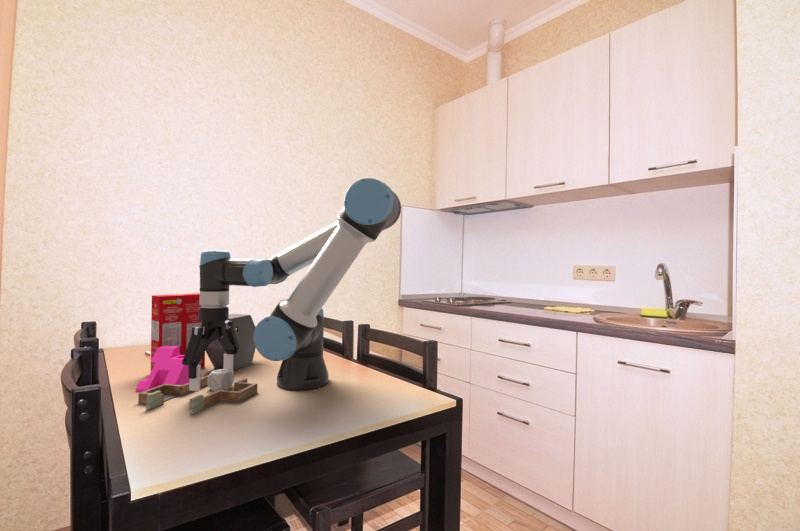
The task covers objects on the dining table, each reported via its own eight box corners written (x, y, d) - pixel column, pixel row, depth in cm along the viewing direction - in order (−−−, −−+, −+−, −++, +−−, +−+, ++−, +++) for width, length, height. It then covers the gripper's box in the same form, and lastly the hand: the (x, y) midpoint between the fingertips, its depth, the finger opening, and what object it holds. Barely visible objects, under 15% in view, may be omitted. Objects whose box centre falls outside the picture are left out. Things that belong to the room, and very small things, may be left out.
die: (221, 392, 112) (221, 374, 112) (206, 390, 113) (207, 372, 113) (234, 387, 116) (234, 369, 116) (220, 385, 118) (220, 368, 118)
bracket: (162, 379, 123) (162, 346, 123) (195, 380, 123) (196, 346, 123) (135, 392, 111) (136, 354, 111) (172, 393, 110) (173, 355, 110)
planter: (245, 344, 153) (226, 301, 142) (263, 345, 151) (245, 302, 140) (219, 379, 139) (197, 334, 128) (239, 381, 138) (218, 336, 126)
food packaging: (196, 365, 140) (197, 293, 140) (204, 367, 137) (205, 294, 137) (150, 374, 128) (151, 295, 128) (158, 377, 125) (159, 296, 125)
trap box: (264, 388, 115) (264, 376, 115) (213, 416, 94) (214, 401, 94) (191, 382, 120) (191, 370, 120) (127, 407, 99) (127, 393, 99)
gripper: (230, 301, 125) (229, 370, 125) (167, 310, 100) (165, 395, 100) (252, 302, 123) (250, 372, 123) (193, 311, 99) (191, 398, 99)
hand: (212, 383), depth 112 cm, fingers open, 13 cm apart
